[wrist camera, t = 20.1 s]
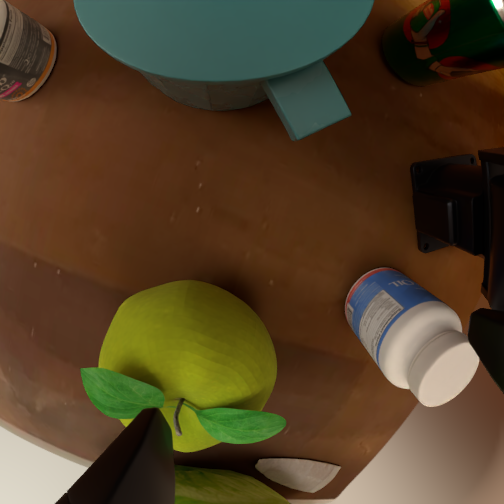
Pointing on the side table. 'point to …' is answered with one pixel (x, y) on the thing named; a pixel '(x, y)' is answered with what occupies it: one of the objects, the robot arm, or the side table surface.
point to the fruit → (188, 365)
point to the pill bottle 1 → (23, 54)
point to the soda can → (446, 40)
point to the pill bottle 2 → (411, 335)
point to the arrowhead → (298, 473)
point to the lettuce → (221, 488)
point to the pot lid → (221, 35)
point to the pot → (271, 98)
